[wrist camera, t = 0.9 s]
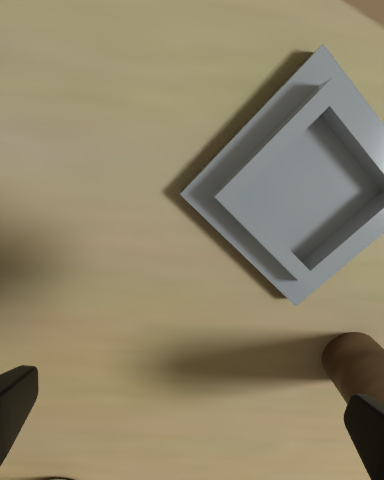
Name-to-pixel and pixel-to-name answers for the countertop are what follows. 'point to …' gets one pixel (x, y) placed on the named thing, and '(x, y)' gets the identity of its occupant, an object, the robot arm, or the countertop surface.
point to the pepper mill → (355, 365)
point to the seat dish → (299, 180)
